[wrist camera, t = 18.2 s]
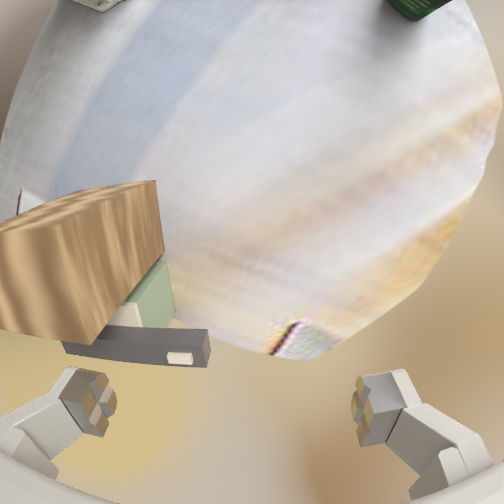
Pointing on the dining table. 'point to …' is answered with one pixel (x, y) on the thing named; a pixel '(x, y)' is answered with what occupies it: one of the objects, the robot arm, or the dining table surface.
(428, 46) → the dining table surface
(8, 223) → the oak stand
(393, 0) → the coffee jar
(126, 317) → the block
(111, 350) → the grey bar with knob
